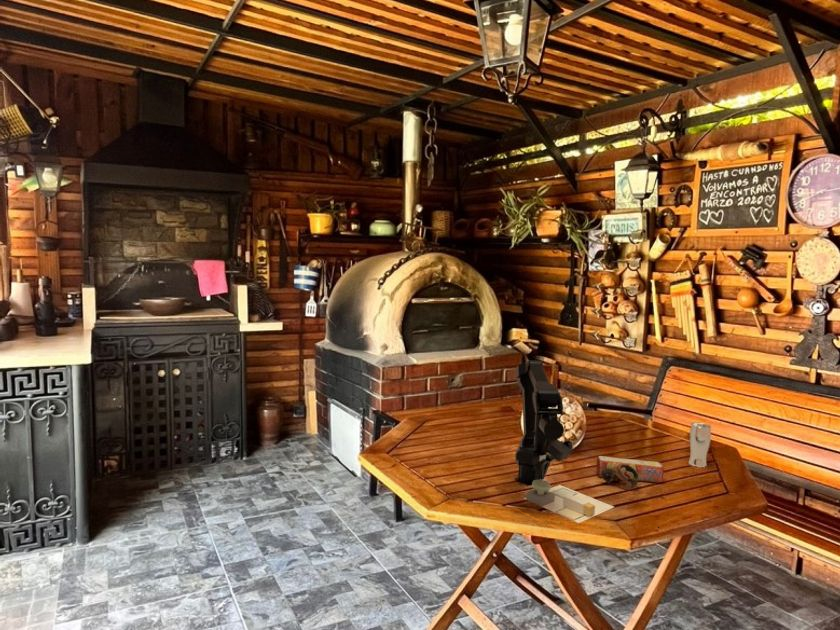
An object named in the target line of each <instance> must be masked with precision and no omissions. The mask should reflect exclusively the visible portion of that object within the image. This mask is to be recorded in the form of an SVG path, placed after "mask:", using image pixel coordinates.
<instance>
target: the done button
mask: <svg viewBox="0 0 840 630" xmlns="http://www.w3.org/2000/svg"><path fill="white" fill-rule="evenodd" d="M550 487H551V483H550V482H549V481H547V480H545V479H543V480H541V479H540V480H534V481H533V482H532V486H531V488H532V490H533V489H535V490H537V494H538V495H541V496H542V495H544V491H548V490H550Z"/></svg>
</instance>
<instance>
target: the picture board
mask: <svg viewBox="0 0 840 630" xmlns="http://www.w3.org/2000/svg"><path fill="white" fill-rule="evenodd" d="M548 491H549V492H551V493H554V494H555V498H554V502H552V503H549V504H547V505H544V506H540V507H541V508H543V509H546V510H548V511H551V512H552V513H555V514H558V515H560V516H561V517H564V518H566V519H568V520H570V521H572V522H575V523H577V524H581V523H582V522H584V521H588V520H589V519H591V518H593V517H595V516H596V517H597V516H598V515H601V514H602V513H604V512H607V511H609V510H611V509H613V508H614V505H611V504H608V503H607V502H604V501H600V500H598V499H596V498H593V497H591V496H588V495H586V494H585V493H582V492H579V491H576V490H573V489H571V488H568V487H566V486H563V485H561V484H559V485H555V486H554V487H551V488H550V490H548ZM568 494H571V495H573V496H576V497H578V498H581V499H583V500H586V501H588V502H590V504H593V505H595V514H593V515H591V516H587V515H585V514H580V513H578V512H576V511H573V510H571V509H569V508H566V507H564V506H563V496H566V495H568ZM523 499H524V500H526V497H523Z"/></svg>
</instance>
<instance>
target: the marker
mask: <svg viewBox="0 0 840 630" xmlns="http://www.w3.org/2000/svg"><path fill="white" fill-rule="evenodd" d="M563 506H564V507H566V508H569V509H571V510H573V511H576V512H578V513H580V514H585V515H587V516H591V515H593V514H595V505H593V504H590V502H588V501H586V500H583V499H581V498H578V497H576V496H573V495H571V494H568V495H566V496H563Z"/></svg>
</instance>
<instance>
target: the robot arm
mask: <svg viewBox="0 0 840 630" xmlns="http://www.w3.org/2000/svg"><path fill="white" fill-rule="evenodd" d="M543 364H544V363H543V361H540V360H527V361H525V362H522V363H520V364H518V365H517V366H516V367H515V370H514V377H515V379H516V383H517V386H518V387H519V388H520V390H521V393H522V394H521V396H522V397H521V398H522V421H523V423H522V424H523V435H522V437H521V438H520V440H519V443H518V447H517V450H516V451H515V455H514V456H515V459H514V460H515V462H516V464H517V466H518V473H517V477H515V478H514V481H517V482H519V483H520V484H524V485H526V486H531V485H532V482H533V481H534V480H545V478H546V475H547V471H548V469H549V467H550V465H551V463H552V462H554V461H555V460H556V461H557V462H562V461H563V460H567V459H568V457H569V456H570V454H573V448H574V447H573V446H574V445H573V442H572V441H571V440H570V439H569V440H565V441H563V440H559V439H560V438H562V437H563V434H564V432H565V428H564V425H563V423H561V421H560V420H559V418H558V416H559V415H564V414H563V411H564V404H563V398H562V395H561V393H560V392H559V390H558V389H557V387H556V385H554V384H552V383H551V382H549V379H548V377H547V375H546V371H545V370H544V368H543V367H544V366H543Z"/></svg>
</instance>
